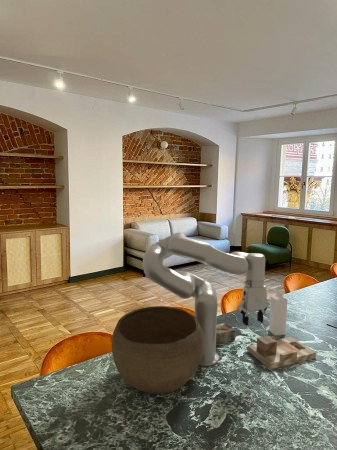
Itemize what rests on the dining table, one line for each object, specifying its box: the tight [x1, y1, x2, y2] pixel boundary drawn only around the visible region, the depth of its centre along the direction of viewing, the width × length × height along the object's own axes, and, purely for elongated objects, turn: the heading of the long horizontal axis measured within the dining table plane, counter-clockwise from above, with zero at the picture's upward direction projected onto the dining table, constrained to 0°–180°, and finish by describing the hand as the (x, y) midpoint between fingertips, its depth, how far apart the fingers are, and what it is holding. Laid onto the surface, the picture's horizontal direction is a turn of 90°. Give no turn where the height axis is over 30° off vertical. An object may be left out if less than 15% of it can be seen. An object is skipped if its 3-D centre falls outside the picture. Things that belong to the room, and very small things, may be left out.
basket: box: [111, 305, 204, 395], centre depth 130 cm, size 35×35×25 cm
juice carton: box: [216, 322, 237, 345], centre depth 165 cm, size 20×10×6 cm, turn 117°
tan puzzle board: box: [247, 335, 317, 370], centre depth 152 cm, size 25×16×5 cm, turn 112°
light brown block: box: [256, 335, 277, 357], centre depth 148 cm, size 6×6×6 cm
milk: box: [268, 289, 288, 337], centre depth 172 cm, size 6×6×22 cm
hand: (252, 322), depth 143 cm, fingers open, 6 cm apart
